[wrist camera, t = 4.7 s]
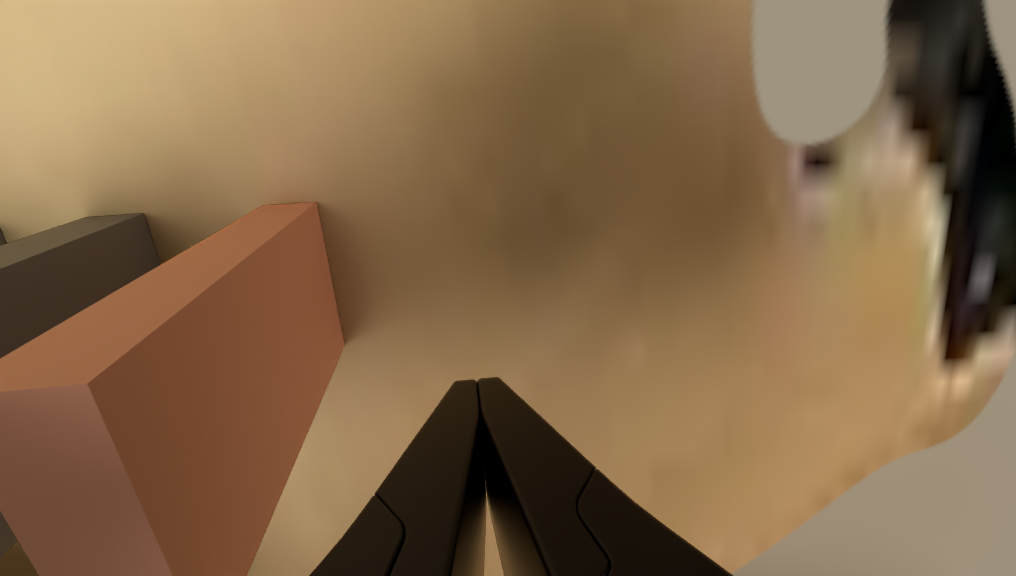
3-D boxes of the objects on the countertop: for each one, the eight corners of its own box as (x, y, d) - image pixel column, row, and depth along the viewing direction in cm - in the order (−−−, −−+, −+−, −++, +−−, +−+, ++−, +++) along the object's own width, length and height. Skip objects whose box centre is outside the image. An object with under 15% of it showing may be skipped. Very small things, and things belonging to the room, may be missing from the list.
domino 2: (143, 213, 14) (-421, 431, 5) (192, 359, 16) (-149, 712, 7) (85, 216, 14) (-604, 448, 5) (142, 364, 16) (-275, 730, 7)
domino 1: (316, 201, 15) (87, 383, 5) (344, 345, 17) (210, 660, 7) (262, 205, 15) (-68, 397, 5) (297, 349, 16) (99, 676, 7)
